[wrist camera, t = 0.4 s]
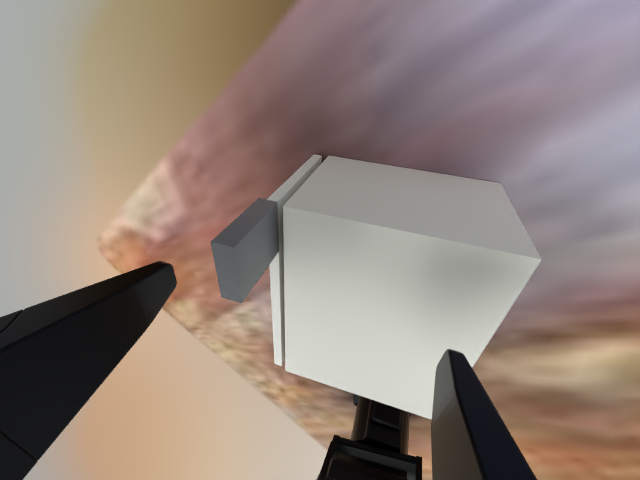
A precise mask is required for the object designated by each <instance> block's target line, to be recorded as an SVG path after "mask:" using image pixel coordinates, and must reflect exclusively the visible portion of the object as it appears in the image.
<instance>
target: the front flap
mask: <svg viewBox="0 0 640 480" xmlns="http://www.w3.org/2000/svg"><path fill="white" fill-rule="evenodd" d="M321 163H322V156H321V155H315V154H314V155H313V156H312V157H311V158H310V159H308V160H307V161H306V162H305V163H304V164H303V165H302V166H301V167H300V168H299V169H298V170H297V171H296V172H295V173H294V174H293V175H292V176H291V177H290V178H289V179H288V180H286V181H285V182H284V183H283V184H282V185H281V186H280V187H279V188H278V189H277V190H276V191H275V192H274V193H273V194H272V195H271V196H270V197H269V198H268V199H267V200H266V199H261V198H259V199H257V200H256V201H255V202H254V203H253V204H252V205H251V206H250V207H249V208H248V209H246V210H245V211H244V212H243V213H242V214H241V215H240V216H239V217H238V218H236V219H235V220H234V221H233V222H232V223H231V224H230V225H229V226H228V227H227V228H225V229H224V230H223V231H222V232H221V233H220V234H219V235H218V236H217V237H215V238H214V239H213V240H212V241H211V246H212V251H213V256H214V262H215V267H216V272H217V277H218V282H219V287H220V293H221V297H223V298H226V299H230V300H233V301H236V302H240V303H242V302H243V301H244V299H245V298H246V296H247V295H248V294H249V292H250V291H251V289H252V288H253V287H254V285H255V284H256V283H257V281H258V280H259V278H260V277H261V276H262V274H263V273H264V271H265V270H266V269H267V267H268V266H269V265H270V284H271V303H272V322H273V341H274V361H275V364H277V365H280V366H282V365H283V363H284V361H285V303H284V236H283V206H284V205H285V203H286V202H287V201H288V200H289V199H290V198H291V197H292V196H293V195H294V193H295V192H296V191H297V190H298V189H299V188H300V187H301V186H302V185H303V183H304V182H305V181H306V180H307V179H308V178H309V177H310V176H311V175H312V173H313V172H314V171H315V170H316V169H317V168H318V167H319V166H320V165H321Z"/></svg>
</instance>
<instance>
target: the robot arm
mask: <svg viewBox="0 0 640 480" xmlns="http://www.w3.org/2000/svg"><path fill="white" fill-rule="evenodd" d="M176 284H177V281H176V277H175V273H174V269H173V266H172V265H171V264H169V263H166V262H163V261H158V262H155V263H152V264H149V265H146V266H144V267H141V268H138V269H135V270H132V271H129V272H127V273H124V274H121V275H118V276H115V277H113V278H110V279H107V280H104V281H101V282H99V283H96V284H93V285H90V286H88V287H84V288H82V289H79V290H76V291H73V292H70V293H68V294H65V295H62V296H59V297H57V298H54V299H51V300H48V301H45V302H42V303H39V304H37V305H34V306H31V307H28V308H26V309H24V310H20V311H17V312H14V313H11V314H9V315H6V316H3V317H0V480H23V479H24V477H25V476H26V475H27V474H28V473H29V471H30V470H31V469H32V468H33V466H34V465H35V464H36V463H37V461H38V460H39V459H40V457H42V455H43V454H44V453H45V452H46V450H47V449H48V448H49V447H50V446H51V444H52V443H53V442H54V441H55V440H56V438H57V437H58V436H59V435H60V433H61V432H62V431H63V430H64V429H65V427H66V426H67V425H68V424H69V422H70V421H71V420H72V419H73V418H74V417H75V415H76V414H77V413H78V412H79V411H80V409H81V408H82V407H83V406H84V404H85V403H86V402H87V401H88V400H89V398H90V397H91V396H92V395H93V394H94V392H95V391H96V390H97V389H98V388H99V386H100V385H101V384H102V383H103V381H104V380H105V379H106V378H107V377H108V375H109V374H110V373H111V372H112V371H113V369H114V368H115V367H116V366H117V364H118V363H119V362H120V361H121V359H123V357H124V356H125V355H126V354H127V352H128V351H129V350H130V349H131V348H132V346H133V345H134V344H135V343H136V342H137V340H138V339H139V338H140V337H141V336H142V334H143V333H144V332H145V331H146V329H147V328H148V327H149V325H150V324H151V323H152V321H153V320H154V318H155V317H156V315H157V314H158V313H159V311H160V310H161V308H162V307H163V305H164V304H165V302H166V301H167V299H168V298H169V296H170V295H171V293H172V292H173V290H174V289H175V287H176ZM354 405H355V406H357V410H356V415H355V420H354V425H353V430H352V435H351V440H349V439H346V438H342V437H340V436H338V435H334V437H333V440H332V442H331V443H330V446H329V449H328V451H327V455H326V457H325V460H324V463H323V466H322V469H321V472H320V474H319V476H318V478H317V480H422V457H419V456H416V457H415V456H411V455H408V440H409V418H410V415H411V413H410V412H407V411H404V410H401V409H398V408H395V407H392V406H389V405H386V404H383V403H380V402H377V401H374V400H371V399H368V398H365V397H362V396H359V395H356V394H355V398H354ZM431 444H432V476H433V480H537V479H536V477H535V475H534V473H533V472H532V470H531V468H530V467H529V465H528V463H527V461H526V460H525V458H524V456H523V455H522V453H521V451H520V449H519V448H518V446H517V444H516V443H515V441H514V439H513V437H512V436H511V434H510V432H509V431H508V429H507V427H506V425H505V424H504V422H503V420H502V419H501V417H500V415H499V413H498V412H497V410H496V408H495V407H494V405H493V403H492V401H491V400H490V398H489V396H488V395H487V393H486V391H485V389H484V388H483V386H482V384H481V383H480V381H479V379H478V377H477V376H476V374H475V372H474V370H473V369H472V367H471V365H470V364H469V362H468V360H467V358H466V357H465V355H464V354H463V353H461V352H459V351H455V350H452V349H447V350H446V351H445V352H444V354H443V356H442V358H441V359H440V361H439V363H438V365H437V368H436V373H435V385H434V397H433V410H432V423H431Z"/></svg>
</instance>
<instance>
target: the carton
mask: <svg viewBox="0 0 640 480" xmlns="http://www.w3.org/2000/svg"><path fill="white" fill-rule="evenodd" d="M283 236H284V303H285V370H286V371H288V372H291V373H294V374H297V375H300V376H303V377H306V378H309V379H311V380H314V381H317V382H320V383H323V384H326V385H329V386H332V387H335V388H338V389H341V390H344V391H347V392H350V393H353V394H356V395H359V396H362V397H365V398H368V399H371V400H374V401H377V402H380V403H383V404H386V405H389V406H392V407H395V408H398V409H401V410H404V411H407V412H410V413H413V414H416V415H419V416H422V417H425V418H428V419H431V420H432V410H433V397H434V385H435V373H436V368H437V365H438V363H439V361H440V359H441V358H442V356H443V354H444V352H445V351H446V350H447V349H452V350H455V351H459V352H461V353H463V354H464V355H465V357H466V358H467V360H468V362H469V364H470V365H471V367H473V366H474V364H475V362H476V361H477V359H478V358H479V356H480V355H481V353H482V352H483V350H484V349H485V347H486V345H487V344H488V342H489V341H490V339H491V338H492V336H493V335H494V333H495V331H496V330H497V328H498V327H499V325H500V324H501V322H502V321H503V319H504V317H505V316H506V314H507V313H508V311H509V310H510V308H511V307H512V305H513V304H514V302H515V300H516V299H517V297H518V296H519V294H520V293H521V291H522V290H523V288H524V286H525V285H526V283H527V282H528V280H529V279H530V277H531V276H532V274H533V273H534V271H535V269H536V268H537V266H538V265H539V263H540V262H541V260H542V259H541V257H540V255H539V253H538V252H537V250H536V248H535V246H534V244H533V242H532V241H531V239H530V237H529V235H528V233H527V231H526V230H525V228H524V226H523V224H522V222H521V220H520V218H519V217H518V215H517V213H516V211H515V209H514V207H513V206H512V204H511V202H510V200H509V198H508V196H507V194H506V193H505V191H504V189H503V187H502V185H501V183H496V182H490V181H484V180H478V179H471V178H465V177H459V176H453V175H446V174H440V173H434V172H428V171H422V170H415V169H409V168H403V167H397V166H391V165H384V164H378V163H372V162H366V161H360V160H353V159H347V158H341V157H335V156H328V157H327V158H326V159H325V160H324V161H323V162H322V163H321V165H320V166H319V167H318V168H317V169H316V170H315V171H314V172H313V173H312V175H311V176H310V177H309V178H308V179H307V180H306V181H305V182H304V183H303V185H302V186H301V187H300V188H299V189H298V190H297V191H296V192H295V193H294V195H293V196H292V197H291V198H290V199H289V200H288V201H287V202H286V203H285V205H284V206H283Z"/></svg>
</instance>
